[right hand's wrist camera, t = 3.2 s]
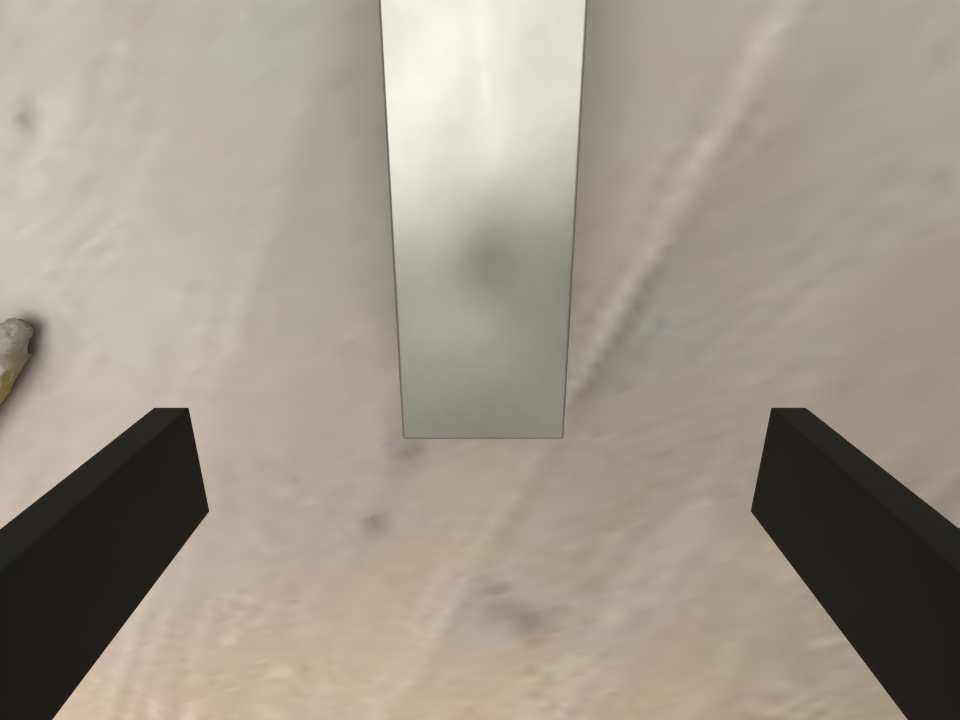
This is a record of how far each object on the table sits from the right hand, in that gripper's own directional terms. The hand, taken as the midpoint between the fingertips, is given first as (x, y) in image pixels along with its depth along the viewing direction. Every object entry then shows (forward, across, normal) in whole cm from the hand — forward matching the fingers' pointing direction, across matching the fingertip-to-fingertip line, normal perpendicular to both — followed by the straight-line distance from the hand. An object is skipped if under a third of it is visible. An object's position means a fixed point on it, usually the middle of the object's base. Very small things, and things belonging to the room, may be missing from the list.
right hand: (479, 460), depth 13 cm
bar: (+15, 0, -9) cm, 17 cm away
